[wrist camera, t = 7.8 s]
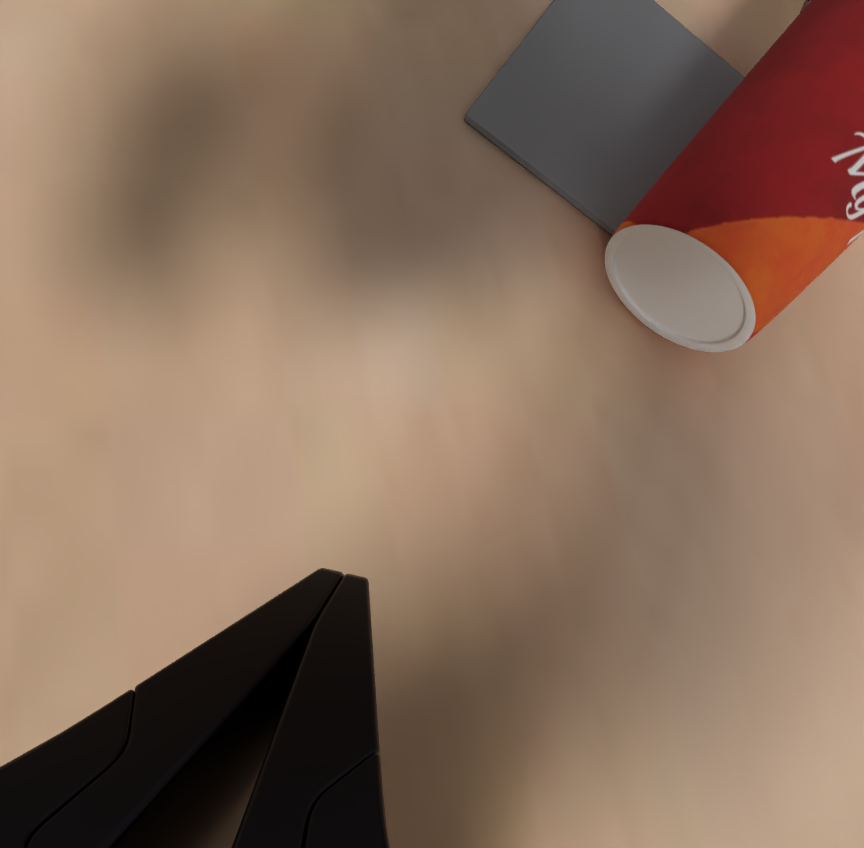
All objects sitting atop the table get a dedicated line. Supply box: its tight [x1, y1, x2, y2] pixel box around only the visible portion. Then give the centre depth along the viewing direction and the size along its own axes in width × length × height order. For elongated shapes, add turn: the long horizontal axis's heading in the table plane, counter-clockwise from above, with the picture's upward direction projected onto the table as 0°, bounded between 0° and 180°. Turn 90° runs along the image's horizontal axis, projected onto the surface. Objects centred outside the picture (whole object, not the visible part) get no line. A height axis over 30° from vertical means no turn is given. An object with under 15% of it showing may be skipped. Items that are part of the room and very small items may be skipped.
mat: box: [464, 0, 744, 236], centre depth 20 cm, size 13×10×1 cm
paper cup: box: [605, 0, 864, 352], centre depth 17 cm, size 8×8×14 cm
